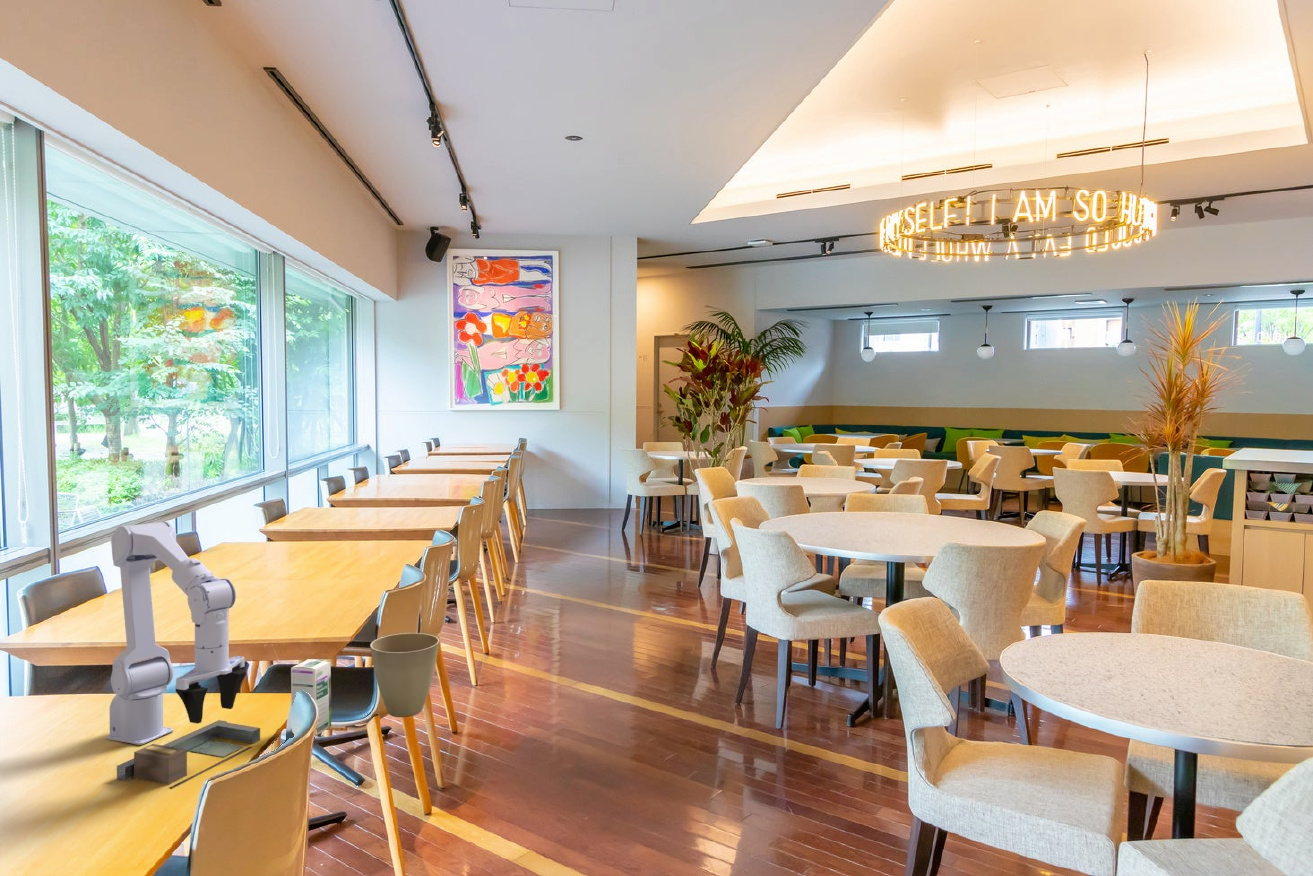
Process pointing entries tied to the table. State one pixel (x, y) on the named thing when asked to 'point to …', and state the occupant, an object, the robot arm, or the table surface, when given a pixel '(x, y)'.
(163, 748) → the taupe rectangular block
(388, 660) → the plant pot
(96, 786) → the table surface
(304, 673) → the syrup box
